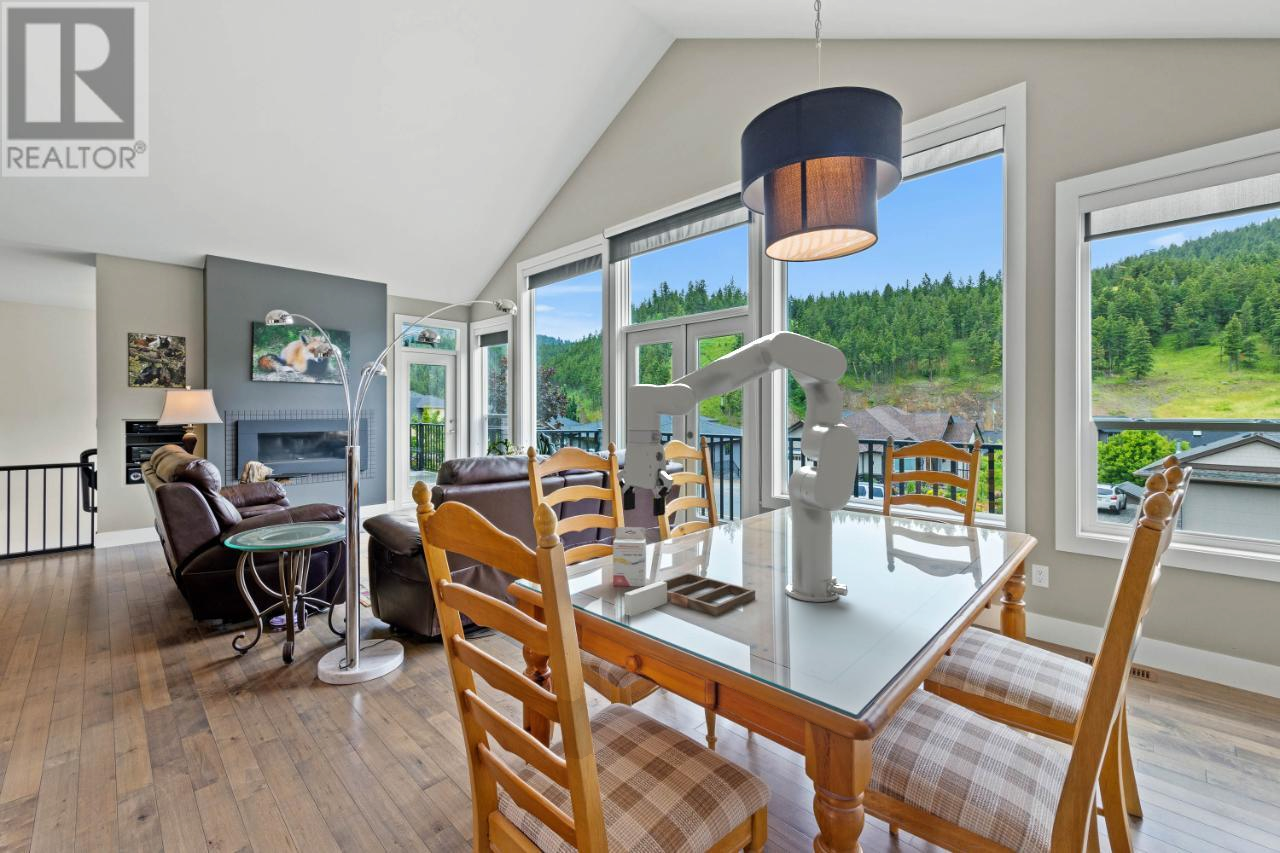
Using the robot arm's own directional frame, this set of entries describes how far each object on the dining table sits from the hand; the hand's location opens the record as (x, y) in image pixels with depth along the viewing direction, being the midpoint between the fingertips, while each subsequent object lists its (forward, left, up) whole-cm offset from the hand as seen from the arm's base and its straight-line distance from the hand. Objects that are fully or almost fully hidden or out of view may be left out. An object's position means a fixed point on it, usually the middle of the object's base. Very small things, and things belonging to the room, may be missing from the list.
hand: (643, 512), depth 127 cm
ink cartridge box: (+16, -10, -23) cm, 30 cm away
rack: (-4, -15, -22) cm, 27 cm away
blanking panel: (0, 0, -23) cm, 23 cm away
